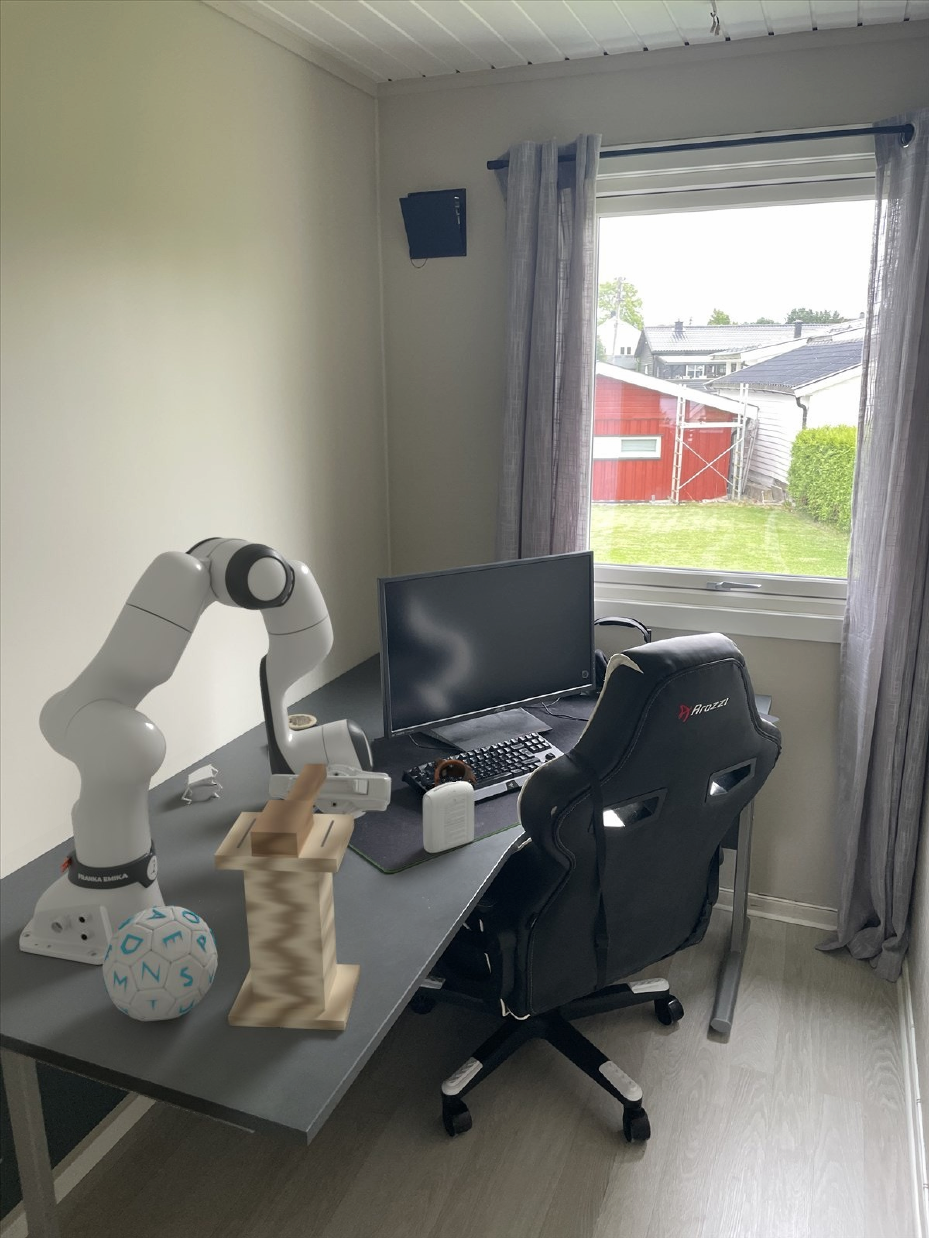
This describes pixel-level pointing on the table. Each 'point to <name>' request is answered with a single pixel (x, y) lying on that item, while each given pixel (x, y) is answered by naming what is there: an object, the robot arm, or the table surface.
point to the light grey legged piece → (201, 779)
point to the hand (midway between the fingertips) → (322, 784)
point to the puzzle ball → (160, 963)
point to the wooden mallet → (289, 817)
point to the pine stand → (292, 929)
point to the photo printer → (448, 816)
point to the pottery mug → (452, 770)
